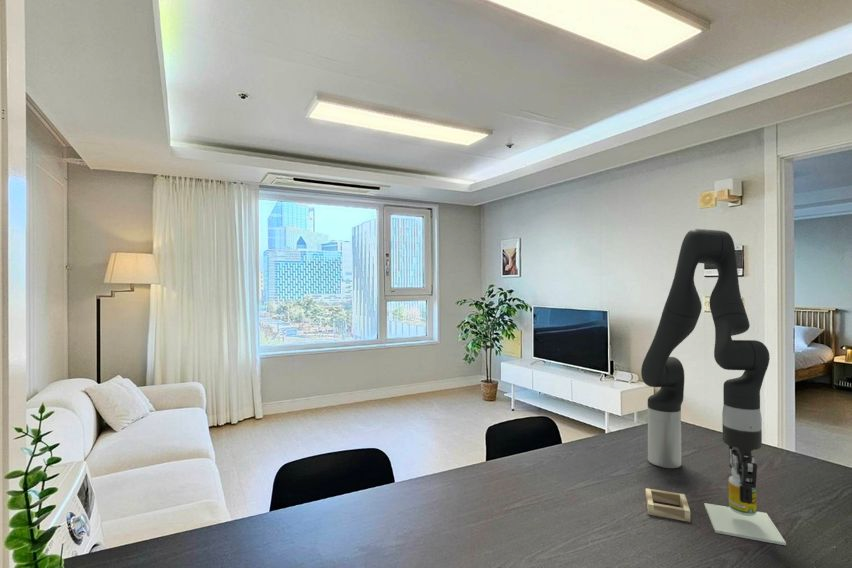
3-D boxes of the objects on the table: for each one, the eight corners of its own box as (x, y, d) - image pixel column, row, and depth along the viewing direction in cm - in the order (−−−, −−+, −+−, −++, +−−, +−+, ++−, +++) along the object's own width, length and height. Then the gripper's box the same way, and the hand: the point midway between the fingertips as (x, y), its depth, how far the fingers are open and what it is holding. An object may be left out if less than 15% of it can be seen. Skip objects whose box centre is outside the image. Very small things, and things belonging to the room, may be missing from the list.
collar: (645, 497, 116) (645, 488, 116) (684, 503, 113) (684, 494, 113) (648, 514, 108) (648, 504, 108) (690, 521, 104) (690, 511, 104)
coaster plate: (704, 505, 112) (704, 503, 112) (766, 515, 107) (766, 513, 107) (715, 532, 100) (715, 530, 100) (786, 545, 95) (786, 542, 95)
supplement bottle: (734, 502, 107) (734, 463, 107) (760, 512, 103) (760, 471, 103) (724, 509, 104) (724, 469, 104) (751, 519, 100) (750, 477, 100)
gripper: (771, 436, 95) (772, 514, 95) (751, 417, 108) (752, 485, 109) (730, 432, 98) (731, 508, 98) (716, 414, 111) (716, 480, 111)
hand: (742, 495), depth 103 cm, fingers closed on supplement bottle, 5 cm apart
